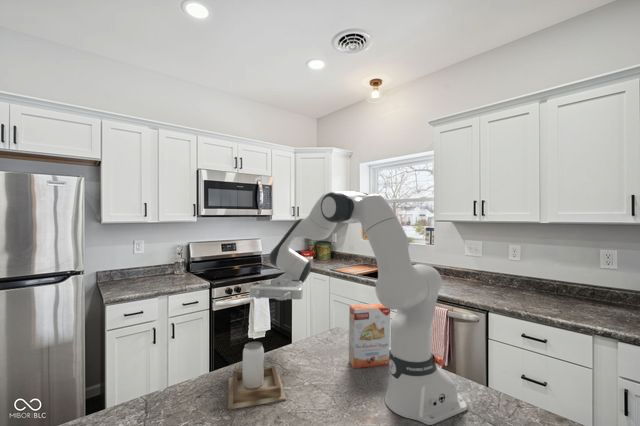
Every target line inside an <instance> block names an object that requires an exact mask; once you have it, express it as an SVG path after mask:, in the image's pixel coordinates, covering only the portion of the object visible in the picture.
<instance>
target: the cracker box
mask: <svg viewBox="0 0 640 426" xmlns="http://www.w3.org/2000/svg"><path fill="white" fill-rule="evenodd" d="M348 316H349V317H348V319H349V321H348V323H349V324H348V327H349V328H348V362H349V364H350V365H351V366H352V368H353V369H359V368H368V367H379V366H388V365H389V351H390V349H391V309H388V308H386V307H385V306H383V305H382V304H381V303H372V304H371V303H370V304H367V303H366V304H354V305H353V304H351V305H349V315H348Z"/></svg>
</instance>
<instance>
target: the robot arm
mask: <svg viewBox="0 0 640 426" xmlns="http://www.w3.org/2000/svg"><path fill="white" fill-rule="evenodd" d="M340 223H343V224H357V223H359V224H360V225H361V226H362V229H363V231H364V234H365V236H366V238H367V241H368V243H369V244H370V247H371V249H372V251H373V254H374V257H375V260H376V261H375V262H376V266H377V267H376V268H377V280H376V282H375V288H374V289H375V290H374V291H375V294H376V295H375V296H376V298H377V300H378V302H380V303H379V304H382V305H383V306H385V307H386V308H388V309H390V310H394V311H395V310H396V313H395V316H394V317H393V319H392V321H391V322H390V349H389V366H388V369H389V370H388V371H389V378H388V385H387V390H386V393H385V397H384V402H385V404H386V406H387V407H388V408H389V409H390V411H392V412H394V414H396V415H399V416H400V417H403V418H406V419H411V420H415V421H418V422H421V423H423V424H425V425H428V426H432V425H436V424H437V423H439V422H442V421H444V420H446V419H449V418H451V417H453V416H456V415H458V414H460V413H463V412H466V411H467V410H468V405H467V403H466V401H465V400H464V398H463V397H462V396H461V395H460V394H459V393H458V390H457V385H456V384H455V382H454V381H453V378H451V377H450V376H449V375H448V374H446V373H445V372H444V371H442V369H440V368H439V367H443V366H444V364H445V360H444V359H443V358H441V357H440V356H438V355H437V356H436V355H435V354H434V353H432V327H433V320H434V316H435V310H436V305H437V301H438V296H439V294H440V292H441V289H442V288H443V278H442V275H441V274H440V272H439V271H438V270H437V269H436V268H434V267H433V266H430V265H427V264H421V263H420V264H419V263H418V264H413V263H412V261H411V257H410V256H411V255H410V254H409V247H410V239H409V238H408V235H407V234H406V232H405V230H404V228H403V226H402V224H401V222H400V220H399V219H398V216H397V214H396V213H395V212H394V209H393V207H392V206H391V205H390V204H389V202H388V201H387V200H386V199H385V197H383V195H381V194H378V193H372V194H371V193H370V194H369V193H367V192H357V191H350V190H341V191H339V190H335V191H331V192H328V193H327V192H326V193H324V194H322V195H321V196H320V197H319V199H318V200H317V201H316V202H315V204H314V206H313V207H312V208H311V211H310V212H309V214H308V215H307V216H306V217H304V218H299V219H297V220H296V221H295V222H294V223H293V225H292V226H291V227H290V228H289V229H288V230H287V232H286V233H285V234H284V235H283V237H282V238H281V240H280V241H279V242H278V243H277V244H276V245H275V246H274V247H273V248H272V249H271V251H270V252H269V256H268V257H269V262H270V264H271V265H273V266H274V267H275V268H278V269H279V270H281V271H282V272H284V273H283V274H281V275H279V276H278V277H276V278H275V279H273V280H271V283H269V284H264V283H261V284H259V283H258V284H254V285H252V286H250V287H249V290H248V291H249V292H248V294H249V295H248V296H249V298H255V299H275V300H276V301H286V300H302V299H303V297H304V296H303V292H304V291H303V289H304V286H303V283H304V282H305V281H306V279H307V278H308V277H309V275H310V273H311V270H312V266H311V261H310V260H308V258H306V257H304V256H303V255H301V254H299V253H298V252H296V251H295V250H294V249H292V248H291V247H290V245H291V244H292V242H293V241H294V240H295V239H296V238H305V239H308V240H313V241H323V240H325V239H327V238H329V237H330V235H331V234H332V233H333V231H334V230H335V229H336V226H337V225H338V224H340ZM436 364H437V365H438V366H439V367H438V366H437V365H436Z"/></svg>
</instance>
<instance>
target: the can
mask: <svg viewBox="0 0 640 426" xmlns="http://www.w3.org/2000/svg"><path fill="white" fill-rule="evenodd" d="M263 346H264V345H263V343H262V342H260V341H252V342H251V341H250V342H248V343H246V344H244V348H243V350H242V370H243V386H244V387H245V388H247V389H256V388H258V387H260V386H261V385H262V384H263V379H264V367H265V366H264V365H265V348H264V347H263Z"/></svg>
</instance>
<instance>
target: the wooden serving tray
mask: <svg viewBox="0 0 640 426" xmlns="http://www.w3.org/2000/svg"><path fill="white" fill-rule="evenodd" d="M232 372H233V374H232V376H230V377H228V398H227V400H228V402H227V410H233V409H234V410H235V409H240V408H247V407H253V406H258V405H259V406H260V405H263V404H270V403H277V402H283V401H286V400H287V397H286V394H285V391H284V390H285V389H284V386H283V384H282V380H281V376H280V373H279V371H278V370H277V368H276V366H275V365H272V366H264V379H263V384H262V385H261V386H260V387H258V388H256V389H247V388H245V387H244V386H243V369H239V370H234V371H232Z"/></svg>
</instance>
